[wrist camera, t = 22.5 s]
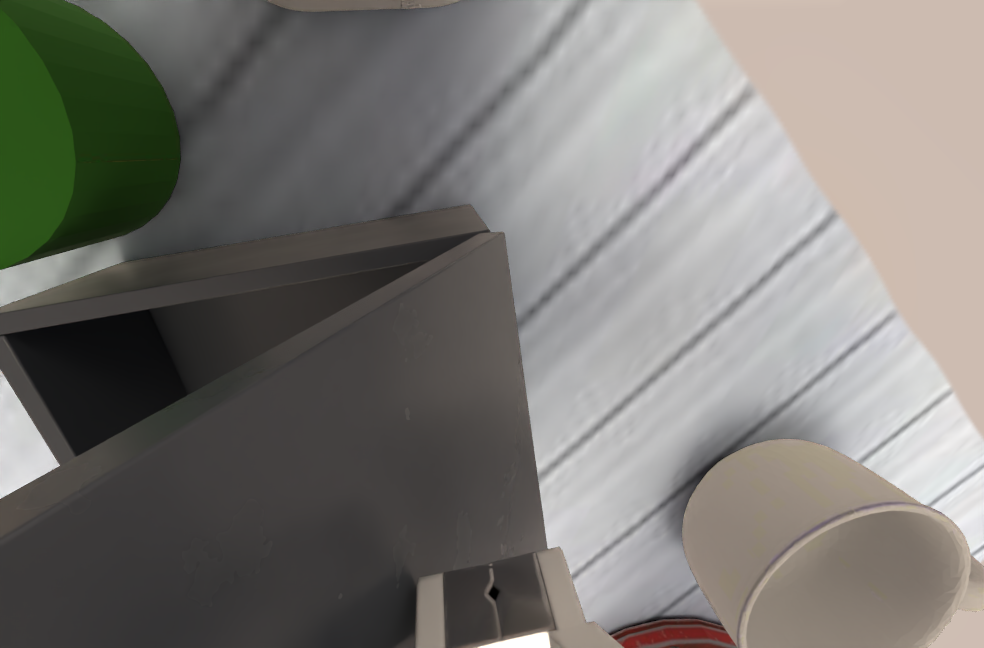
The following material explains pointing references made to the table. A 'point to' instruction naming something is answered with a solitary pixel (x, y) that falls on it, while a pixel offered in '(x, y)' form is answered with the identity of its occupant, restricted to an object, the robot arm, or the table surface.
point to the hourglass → (675, 635)
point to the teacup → (823, 553)
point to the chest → (195, 318)
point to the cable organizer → (357, 4)
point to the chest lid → (295, 484)
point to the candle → (77, 133)
